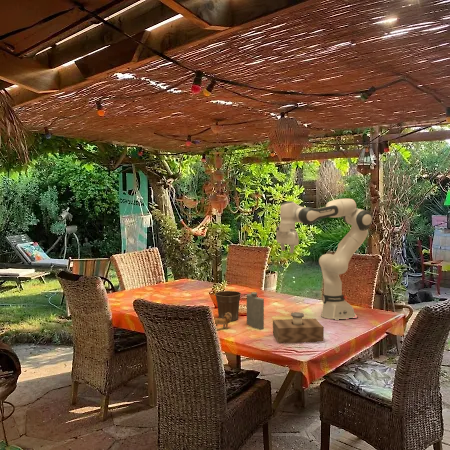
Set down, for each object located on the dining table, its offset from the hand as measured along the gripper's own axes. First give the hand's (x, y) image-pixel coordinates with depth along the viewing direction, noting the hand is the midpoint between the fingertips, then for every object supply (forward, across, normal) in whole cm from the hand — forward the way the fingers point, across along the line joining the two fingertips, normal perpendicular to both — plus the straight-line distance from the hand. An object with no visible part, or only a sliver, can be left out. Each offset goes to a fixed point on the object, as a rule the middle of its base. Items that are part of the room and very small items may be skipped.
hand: (287, 251), depth 278 cm
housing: (+43, -29, +10) cm, 53 cm away
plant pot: (+43, +21, +29) cm, 56 cm away
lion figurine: (+44, +3, +41) cm, 60 cm away
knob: (+37, -29, +10) cm, 48 cm away
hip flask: (+43, 0, +21) cm, 48 cm away
